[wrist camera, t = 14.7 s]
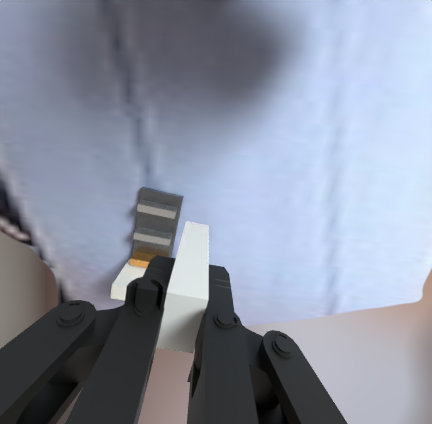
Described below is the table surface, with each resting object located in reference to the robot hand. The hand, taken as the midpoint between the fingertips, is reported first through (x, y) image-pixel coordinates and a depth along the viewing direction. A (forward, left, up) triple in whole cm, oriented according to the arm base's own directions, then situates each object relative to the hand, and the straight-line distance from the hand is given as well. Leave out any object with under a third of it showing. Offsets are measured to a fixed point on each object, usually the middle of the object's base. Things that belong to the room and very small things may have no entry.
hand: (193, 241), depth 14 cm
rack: (+13, -6, -23) cm, 27 cm away
